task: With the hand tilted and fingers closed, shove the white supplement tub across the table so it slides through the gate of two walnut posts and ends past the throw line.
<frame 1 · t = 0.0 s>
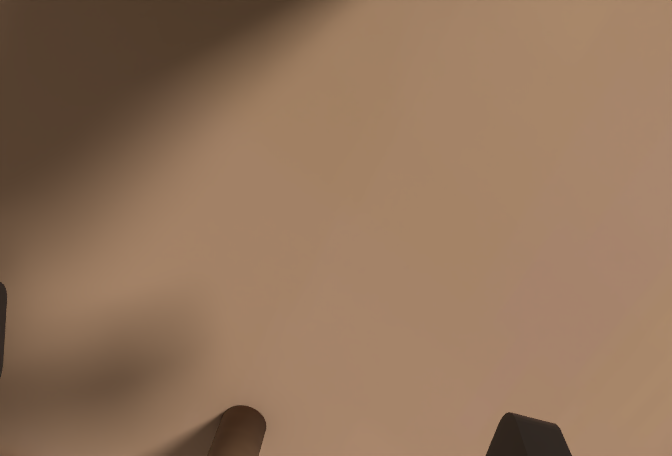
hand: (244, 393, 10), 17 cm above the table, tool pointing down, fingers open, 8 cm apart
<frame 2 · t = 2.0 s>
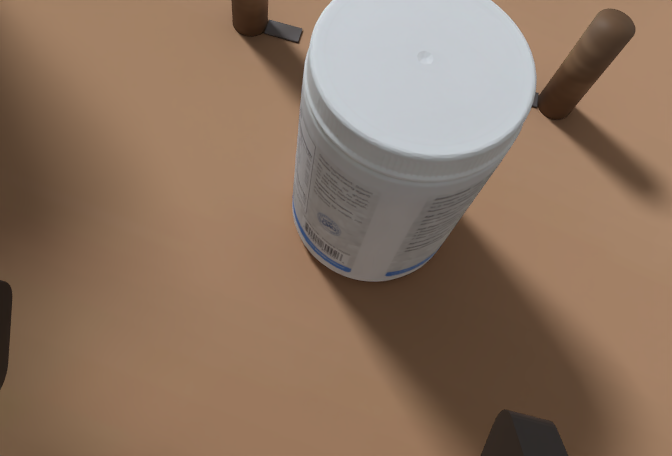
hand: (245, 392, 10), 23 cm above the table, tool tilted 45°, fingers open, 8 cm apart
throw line: (402, 64, 42), on the table
supplement tub: (366, 214, 37), on the table
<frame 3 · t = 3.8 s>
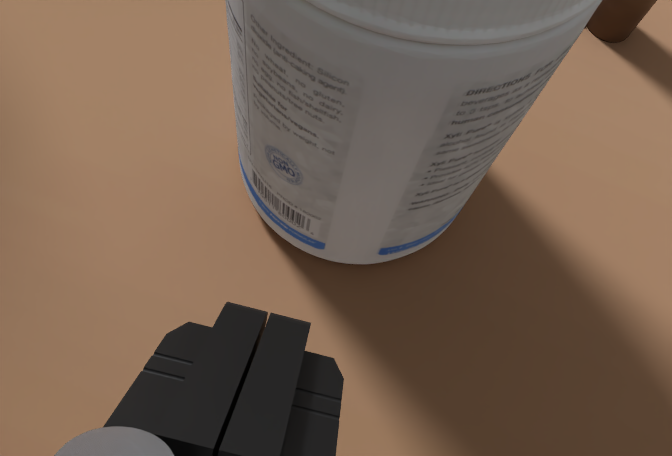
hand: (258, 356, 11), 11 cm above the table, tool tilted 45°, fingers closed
supplement tub: (349, 169, 26), on the table
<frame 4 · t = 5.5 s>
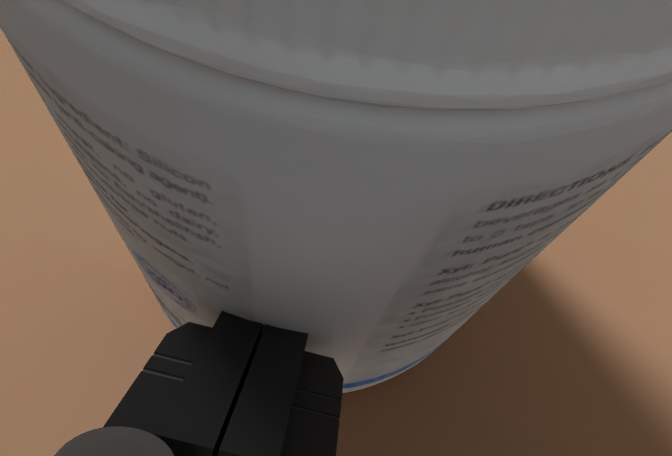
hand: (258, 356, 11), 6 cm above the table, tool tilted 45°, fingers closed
supplement tub: (309, 241, 18), on the table, touching gripper
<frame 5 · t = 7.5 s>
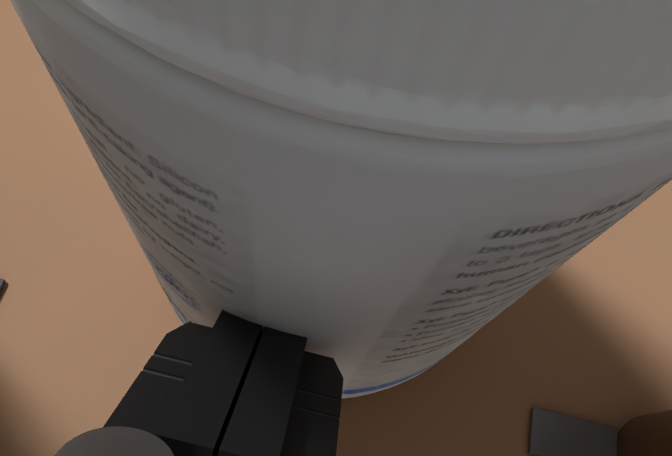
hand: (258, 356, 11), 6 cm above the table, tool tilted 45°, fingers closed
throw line: (265, 366, 16), on the table
supplement tub: (320, 243, 18), on the table, touching gripper
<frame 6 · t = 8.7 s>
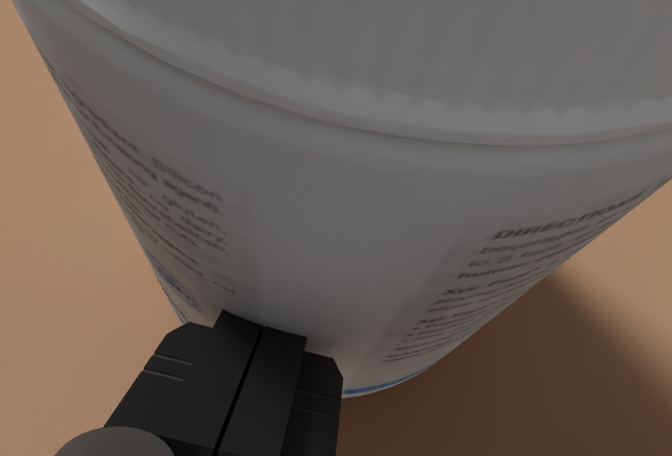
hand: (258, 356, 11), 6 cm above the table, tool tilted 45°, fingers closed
supplement tub: (320, 243, 18), on the table, touching gripper
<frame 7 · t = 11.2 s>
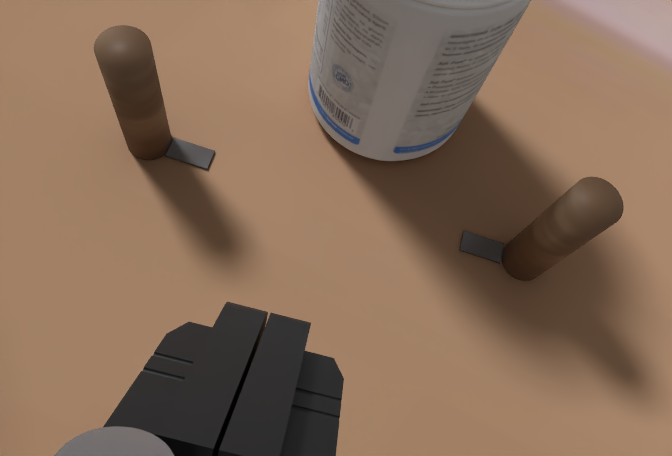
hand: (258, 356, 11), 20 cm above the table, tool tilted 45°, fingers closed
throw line: (336, 200, 34), on the table
supplement tub: (381, 101, 37), on the table
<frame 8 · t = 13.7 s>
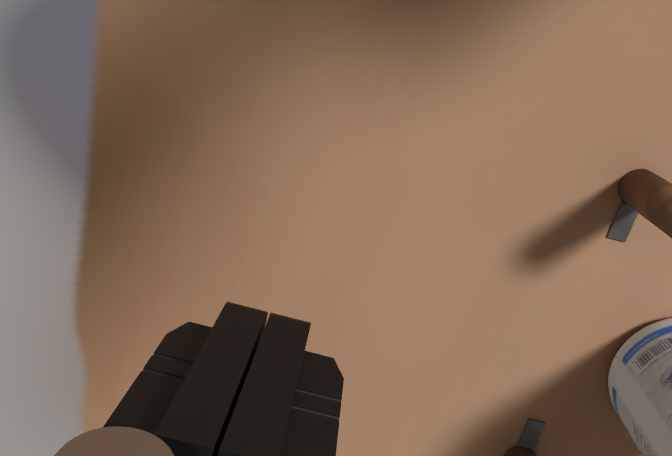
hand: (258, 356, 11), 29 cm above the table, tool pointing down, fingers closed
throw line: (573, 335, 42), on the table
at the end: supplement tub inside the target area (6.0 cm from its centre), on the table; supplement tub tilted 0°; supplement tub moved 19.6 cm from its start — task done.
